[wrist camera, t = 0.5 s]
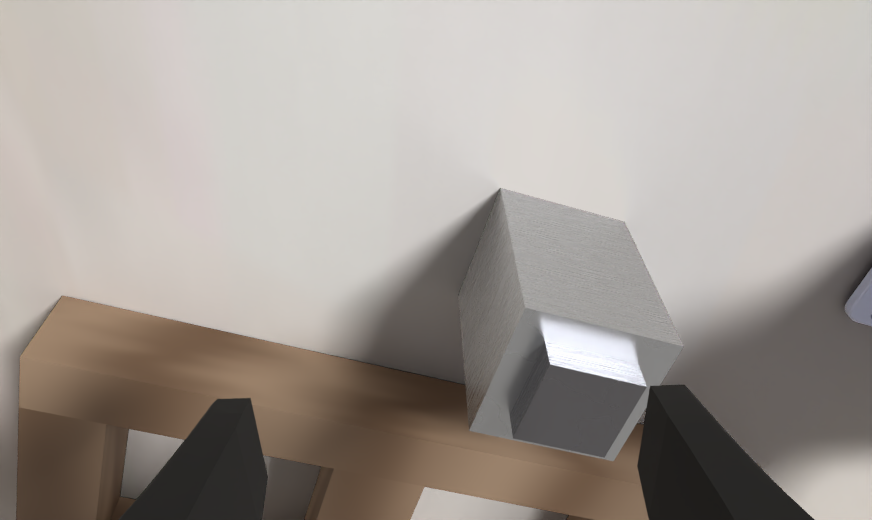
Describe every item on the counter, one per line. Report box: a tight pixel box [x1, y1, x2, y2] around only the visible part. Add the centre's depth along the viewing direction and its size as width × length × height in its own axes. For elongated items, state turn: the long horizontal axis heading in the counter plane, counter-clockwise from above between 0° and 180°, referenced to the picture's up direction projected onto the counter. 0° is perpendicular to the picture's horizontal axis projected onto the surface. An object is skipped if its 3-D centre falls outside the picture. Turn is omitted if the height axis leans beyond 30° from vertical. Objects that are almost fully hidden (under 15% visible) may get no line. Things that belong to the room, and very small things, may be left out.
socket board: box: [16, 296, 649, 520], centre depth 27 cm, size 22×11×3 cm, turn 73°
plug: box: [458, 188, 684, 461], centre depth 21 cm, size 4×4×7 cm
